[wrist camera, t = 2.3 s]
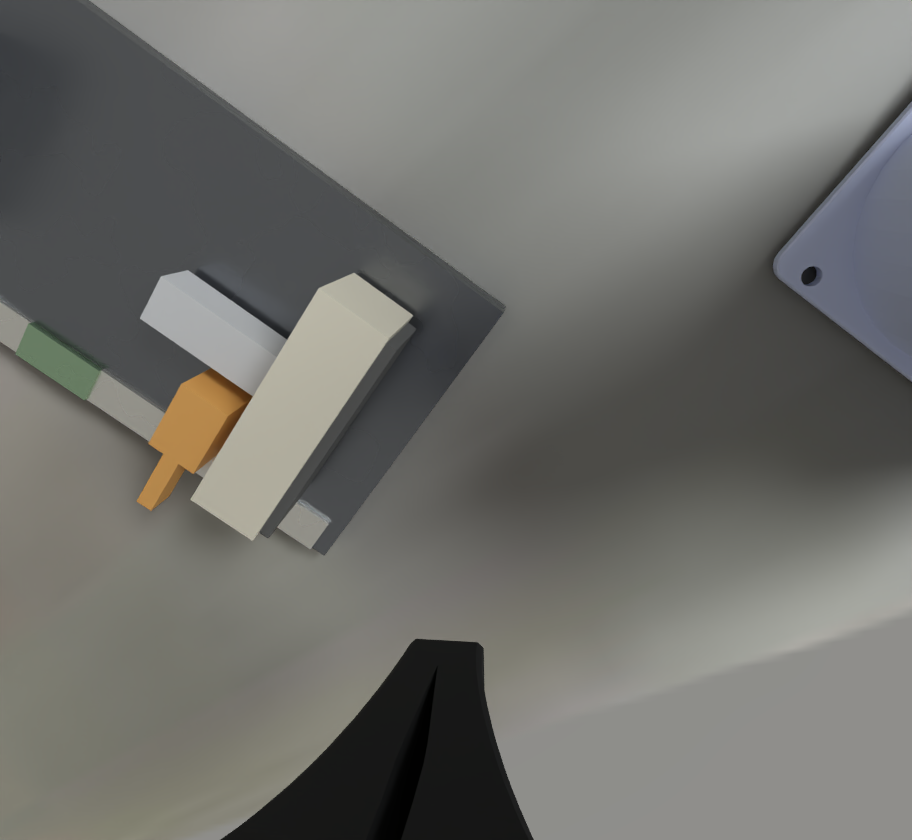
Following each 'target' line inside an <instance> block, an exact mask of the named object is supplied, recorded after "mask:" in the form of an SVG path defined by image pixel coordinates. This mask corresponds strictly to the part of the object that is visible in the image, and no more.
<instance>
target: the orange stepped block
mask: <svg viewBox="0 0 912 840" xmlns="http://www.w3.org/2000/svg"><path fill="white" fill-rule="evenodd" d="M252 397H253V396H252V395H250V394H249V393H247V392H246V391H244V390H243V389H241V388H240V387H239V386H237V385H236V384H234V383H233V382H231V381H230V380H228V379H227V378H225V377H224V376H223V375H221V374H220V373H218V372H217V371H215V370H214V369H212V368H210V369H208V370H206V371H205V372H203V373H201V374H199V375H197V376H195V377H193V378H192V379H190V380H188V381H186V382H184V383H182V384H181V385H180V387H179V389H178V391H177V393H176V394H175V396H174V398H173V400H172V402H171V403H170V405H169V407H168V409H167V411H166V412H165V414H164V416H163V418H162V420H161V422H160V423H159V425H158V427H157V429H156V431H155V432H154V434H153V436H152V438H151V440H150V441H149V443H148V444H149V445H151V446H152V447H154V448H155V449H157V450H158V451H160V452H161V453H163V455H162V457H161V459H160V461H159V462H158V464H157V466H156V468H155V469H154V471H153V473H152V475H151V477H150V478H149V480H148V482H147V484H146V485H145V487H144V489H143V491H142V492H141V494H140V496H139V498H138V499H137V502H138V503H140V504H141V505H143V506H144V507H146V508H147V509H149V510H150V511H152V510H153V509H154V508H155V507H156V506H158V505H159V504H160V503H161V502H163V501H164V500H165V499H166V498H168V497H169V496H170V494H171V492H172V491H173V489H174V487H175V486H176V484H177V482H178V481H179V479H180V477H181V475H182V474H183V472H184V470H185V469H187V470H188V471H190V472H191V473H193V474H194V473H195V472H196V471H198V470H199V469H200V468H201V467H203V466H204V465H205V464H206V463H208V462H209V461H210V460H211V459H213V458H214V457H215V456H216V455H218V453H219V452H220V450H221V448H222V447H223V445H224V443H225V442H226V440H227V438H228V437H229V435H230V433H231V432H232V430H233V429H234V427H235V425H236V424H237V422H238V420H239V419H240V417H241V415H242V414H243V412H244V410H245V409H246V407H247V405H248V404H249V402H250V401H251V399H252Z"/></svg>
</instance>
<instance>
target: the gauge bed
mask: <svg viewBox="0 0 912 840" xmlns="http://www.w3.org/2000/svg"><path fill="white" fill-rule="evenodd" d="M186 270H189V271H190V272H191V273H193V274H194V275H196V276H197V277H198V278H200V279H201V280H203V281H204V282H206V283H207V284H208V285H210V286H211V287H213V288H214V289H216V290H217V291H218V292H220V293H221V294H223V295H224V296H226V297H227V298H228V299H230V300H231V301H233V302H234V303H236V304H237V305H238V306H240V307H241V308H243V309H244V310H246V311H247V312H248V313H250V314H251V315H253V316H254V317H255V318H257V319H258V320H260V321H261V322H263V323H264V324H265V325H267V326H268V327H270V328H271V329H273V330H274V331H275V332H277V333H278V334H280V335H281V336H283V337H284V338H285V339H287V340H288V338H289V336H290V335H291V333H292V331H293V330H294V328H295V326H296V325H297V323H298V321H299V320H300V318H301V317H302V315H303V313H304V312H305V310H306V308H307V307H308V305H309V303H310V302H311V300H312V298H313V297H314V295H315V293H316V292H317V290H318V289H319V288H320V287H322V286H325V285H327V284H329V283H332V282H334V281H336V280H339V279H341V278H343V277H345V276H348V275H350V274H352V273H355V274H357V275H358V276H359V277H361V278H362V279H364V280H365V281H366V282H368V283H369V284H371V285H372V286H373V287H375V288H376V289H377V290H379V291H380V292H382V293H383V294H384V295H386V296H387V297H389V298H390V299H391V300H393V301H394V302H395V303H397V304H398V305H400V306H401V307H402V308H404V309H405V310H407V311H408V312H409V313H411V314H412V315H413V317H412V318H411V320H410V321H409V322H408V323H409V324H411V325H412V326H414V327H415V328H416V331H415V332H414V334H413V335H412V337H411V338H410V340H409V341H408V342H407V344H406V345H405V347H404V348H403V350H402V351H401V353H400V354H399V356H398V357H397V358H396V360H395V361H394V363H393V364H392V366H391V367H390V369H389V370H388V372H387V373H386V374H385V376H384V377H383V379H382V380H381V382H380V383H379V385H378V386H377V387H376V389H375V390H374V392H373V393H372V395H371V396H370V398H369V399H368V401H367V402H366V403H365V405H364V406H363V408H362V409H361V411H360V412H359V414H358V415H357V417H356V418H355V419H354V421H353V422H352V424H351V425H350V427H349V428H348V430H347V431H346V433H345V434H344V435H343V437H342V438H341V440H340V441H339V443H338V444H337V446H336V447H335V449H334V450H333V451H332V453H331V454H330V456H329V457H328V459H327V460H326V462H325V463H324V465H323V466H322V467H321V469H320V470H319V472H318V473H317V475H316V476H315V478H314V479H313V481H312V482H311V483H310V485H309V486H308V488H307V489H306V491H305V492H304V494H303V495H302V497H301V498H300V499H299V500H298V502H297V503H296V504H295V505H294V507H293V508H292V509H291V510H290V512H289V513H288V514H287V515H286V517H285V518H284V519H283V520H282V522H281V523H280V524H279V525H278V527H277V528H279V529H280V530H282V531H283V532H285V533H286V534H288V535H289V536H291V537H292V538H294V539H295V540H297V541H298V542H300V543H301V544H303V545H304V546H306V547H307V548H309V549H311V548H314V549H315V550H317V551H318V552H320V553H321V554H323V555H325V554H326V553H327V551H328V550H329V549H330V547H331V546H332V545H333V543H334V542H335V541H336V539H337V538H338V536H339V535H340V534H341V532H342V531H343V530H344V528H345V527H346V526H347V524H348V523H349V522H350V520H351V519H352V517H353V516H354V515H355V513H356V512H357V511H358V509H359V508H360V507H361V505H362V504H363V503H364V501H365V500H366V499H367V497H368V496H369V494H370V493H371V492H372V490H373V489H374V488H375V486H376V485H377V484H378V482H379V481H380V480H381V478H382V477H383V475H384V474H385V473H386V471H387V470H388V469H389V467H390V466H391V465H392V463H393V462H394V461H395V459H396V458H397V456H398V455H399V454H400V452H401V451H402V450H403V448H404V447H405V446H406V444H407V443H408V442H409V440H410V439H411V437H412V436H413V435H414V433H415V432H416V431H417V429H418V428H419V427H420V425H421V424H422V423H423V421H424V420H425V418H426V417H427V416H428V414H429V413H430V412H431V410H432V409H433V408H434V406H435V405H436V404H437V402H438V401H439V399H440V398H441V397H442V395H443V394H444V393H445V391H446V390H447V389H448V387H449V386H450V385H451V383H452V382H453V380H454V379H455V378H456V376H457V375H458V374H459V372H460V371H461V370H462V368H463V367H464V366H465V364H466V363H467V362H468V360H469V359H470V357H471V356H472V355H473V353H474V352H475V351H476V349H477V348H478V347H479V345H480V344H481V343H482V341H483V340H484V338H485V337H486V336H487V334H488V333H489V332H490V330H491V329H492V328H493V326H494V325H495V324H496V322H497V321H498V319H499V318H500V317H501V315H502V314H503V313H504V310H505V307H506V306H504V305H503V304H502V303H500V302H499V301H498V300H496V299H495V298H493V297H492V296H491V295H489V294H488V293H487V292H485V291H484V290H483V289H481V288H480V287H478V286H477V285H476V284H474V283H473V282H472V281H470V280H469V279H468V278H466V277H465V276H463V275H462V274H461V273H459V272H458V271H457V270H455V269H454V268H453V267H451V266H450V265H448V264H447V263H446V262H444V261H443V260H442V259H440V258H439V257H438V256H436V255H435V254H433V253H432V252H431V251H429V250H428V249H427V248H425V247H424V246H423V245H421V244H420V243H418V242H417V241H416V240H414V239H413V238H412V237H410V236H409V235H408V234H406V233H405V232H403V231H402V230H401V229H399V228H398V227H397V226H395V225H394V224H393V223H391V222H390V221H389V220H387V219H386V218H384V217H383V216H382V215H380V214H379V213H378V212H376V211H375V210H374V209H372V208H371V207H369V206H368V205H367V204H365V203H364V202H363V201H361V200H360V199H359V198H357V197H356V196H354V195H353V194H352V193H350V192H349V191H348V190H346V189H345V188H344V187H342V186H341V185H339V184H338V183H337V182H335V181H334V180H333V179H331V178H330V177H329V176H327V175H326V174H324V173H323V172H322V171H320V170H319V169H318V168H316V167H315V166H314V165H312V164H311V163H309V162H308V161H307V160H305V159H304V158H303V157H301V156H300V155H299V154H297V153H296V152H294V151H293V150H292V149H290V148H289V147H288V146H286V145H285V144H284V143H282V142H281V141H279V140H278V139H277V138H275V137H274V136H273V135H271V134H270V133H269V132H267V131H266V130H265V129H263V128H262V127H260V126H259V125H258V124H256V123H255V122H254V121H252V120H251V119H250V118H248V117H247V116H245V115H244V114H243V113H241V112H240V111H239V110H237V109H236V108H235V107H233V106H232V105H230V104H229V103H228V102H226V101H225V100H224V99H222V98H221V97H220V96H218V95H217V94H215V93H214V92H213V91H211V90H210V89H209V88H207V87H206V86H205V85H203V84H202V83H200V82H199V81H198V80H196V79H195V78H194V77H192V76H191V75H190V74H188V73H187V72H185V71H184V70H183V69H181V68H180V67H179V66H177V65H176V64H175V63H173V62H172V61H170V60H169V59H168V58H166V57H165V56H164V55H162V54H161V53H160V52H158V51H157V50H155V49H154V48H153V47H151V46H150V45H149V44H147V43H146V42H145V41H143V40H142V39H141V38H139V37H138V36H136V35H135V34H134V33H132V32H131V31H130V30H128V29H127V28H126V27H124V26H123V25H121V24H120V23H119V22H117V21H116V20H115V19H113V18H112V17H111V16H109V15H108V14H106V13H105V12H104V11H102V10H101V9H100V8H98V7H97V6H96V5H94V4H93V3H91V2H90V1H89V0H0V342H1V343H3V344H4V345H6V346H7V347H9V348H10V349H12V350H13V351H15V352H16V353H15V354H16V355H17V356H19V357H20V358H22V359H23V360H25V361H26V362H28V363H29V364H31V365H32V366H34V367H35V368H37V369H38V370H40V371H41V372H43V373H44V374H46V375H47V376H49V377H50V378H52V379H53V380H55V381H56V382H57V383H59V384H60V385H62V386H63V387H65V388H66V389H68V390H69V391H71V392H72V393H74V394H75V395H77V396H78V397H80V398H81V399H83V400H84V401H85V400H88V401H89V402H91V403H92V404H94V405H95V406H97V407H98V408H100V409H101V410H103V411H104V412H106V413H107V414H109V415H110V416H112V417H113V418H115V419H116V420H118V421H119V422H121V423H122V424H124V425H125V426H127V427H128V428H130V429H131V430H133V431H134V432H136V433H137V434H139V435H140V436H142V437H143V438H145V439H146V440H148V441H150V440H151V438H152V436H153V434H154V432H155V431H156V429H157V427H158V425H159V423H160V422H161V420H162V418H163V416H164V414H165V412H166V411H167V409H168V407H169V405H170V403H171V402H172V400H173V398H174V396H175V394H176V393H177V391H178V389H179V387H180V385H181V384H182V383H184V382H186V381H188V380H190V379H192V378H193V377H195V376H197V375H199V374H201V373H203V372H205V371H206V370H208V369H210V368H211V367H210V366H208V365H207V364H205V363H204V362H202V361H201V360H199V359H198V358H196V357H195V356H194V355H192V354H191V353H189V352H188V351H186V350H185V349H183V348H182V347H180V346H179V345H178V344H176V343H175V342H173V341H172V340H170V339H169V338H167V337H166V336H165V335H163V334H162V333H160V332H159V331H157V330H156V329H154V328H153V327H151V326H150V325H149V324H147V323H146V322H144V321H143V320H141V319H140V317H141V315H142V313H143V311H144V309H145V307H146V305H147V303H148V301H149V299H150V297H151V295H152V293H153V291H154V289H155V287H156V285H157V283H158V281H159V279H160V277H161V276H164V275H169V274H173V273H178V272H182V271H186ZM216 457H217V455H216V456H215V457H214V458H213V459H211V460H210V461H209V462H208V463H206V464H205V465H204V466H203V467H201V468H200V469H199V470H198V471H196V472H195V473H197V474H198V475H200V476H201V477H203V478H204V476H205V475H206V473H207V471H208V470H209V468H210V466H211V465H212V463H213V461H214V460H215V458H216Z"/></svg>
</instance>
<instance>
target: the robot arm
mask: <svg viewBox="0 0 912 840" xmlns="http://www.w3.org/2000/svg"><path fill="white" fill-rule="evenodd" d="M812 266H814V267H815V269H816V270H817V276H816V278H815V279H814V281H813V282H811V283H810V284H805V285H804V284H803V283H802V281H801V275H802V273H803V271H804V270H805V269H807V268H808V267H812ZM773 270H774V274H775V275H776V276H777V277H778V279H779V280H781V281H782V282H783V283H785V284H786V285H787V286H788V287H790V288H791V289H792V290H794V291H795V292H796V293H797V294H799V295H800V296H801V297H803V298H804V299H805V300H807V301H808V302H809V303H810V304H812V305H813V306H814V307H816V308H817V309H818V310H819V311H821V312H822V313H823V314H825V315H826V316H827V317H828V318H830V319H831V320H832V321H834V322H835V323H836V324H838V325H839V326H840V327H841V328H843V329H844V330H845V331H847V332H848V333H849V334H850V335H852V336H853V337H854V338H856V339H857V340H858V341H859V342H861V343H862V344H863V345H865V346H866V347H867V348H868V349H870V350H871V351H872V352H874V353H875V354H876V355H878V356H879V357H880V358H881V359H883V360H884V361H885V362H887V363H888V364H889V365H890V366H892V367H893V368H894V369H896V370H897V371H898V372H899V373H901V374H902V375H903V376H905V377H906V378H907V379H909V380H910V381H911V382H912V101H911V103H910V104H909V105H908V106H907V107H906V108H905V109H904V111H903V112H902V113H901V114H900V115H899V116H898V117H897V118H896V120H895V121H894V122H893V123H892V124H891V125H890V126H889V128H888V129H887V130H886V131H885V132H884V133H883V134H882V135H881V137H880V138H879V139H878V140H877V141H876V142H875V143H874V145H873V146H872V147H871V148H870V149H869V150H868V151H867V152H866V154H865V155H864V156H863V157H862V158H861V159H860V160H859V162H858V163H857V164H856V165H855V166H854V167H853V168H852V170H851V171H850V172H849V173H848V174H847V175H846V176H845V177H844V179H843V180H842V181H841V182H840V183H839V184H838V185H837V187H836V188H835V189H834V190H833V191H832V192H831V193H830V194H829V196H828V197H827V198H826V199H825V200H824V201H823V202H822V204H821V205H820V206H819V207H818V208H817V209H816V210H815V211H814V213H813V214H812V215H811V216H810V217H809V218H808V219H807V221H806V222H805V223H804V224H803V225H802V226H801V227H800V228H799V230H798V231H797V232H796V233H795V234H794V235H793V236H792V238H791V239H790V240H789V241H788V242H787V243H786V244H785V245H784V247H783V248H782V249H781V250H780V251H779V252H778V254H777V255H776V257H775V259H774V263H773ZM221 840H534V839H533V837H532V835H531V833H530V831H529V828H528V826H527V824H526V822H525V819H524V817H523V815H522V812H521V810H520V808H519V805H518V803H517V800H516V798H515V795H514V793H513V790H512V788H511V785H510V782H509V780H508V777H507V774H506V771H505V768H504V765H503V762H502V759H501V756H500V752H499V749H498V746H497V743H496V739H495V736H494V732H493V728H492V724H491V720H490V716H489V711H488V707H487V702H486V697H485V691H484V650H483V647H482V646H481V645H480V644H479V643H478V642H461V641H444V640H426V639H415V640H414V641H413V642H412V643H411V644H410V645H409V647H408V648H407V650H406V651H405V653H404V654H403V656H402V657H401V659H400V660H399V662H398V663H397V664H396V666H395V667H394V669H393V670H392V671H391V673H390V674H389V675H388V677H387V678H386V679H385V681H384V682H383V683H382V685H381V686H380V687H379V689H378V690H377V691H376V692H375V694H374V695H373V696H372V697H371V699H370V700H369V701H368V702H367V704H366V705H365V706H364V707H363V709H362V710H361V711H360V712H359V713H358V715H357V716H356V717H355V718H354V719H353V720H352V721H351V723H350V724H349V725H348V726H347V727H346V728H345V729H344V730H343V731H342V733H341V734H340V735H339V736H338V737H337V738H336V739H335V740H334V741H333V743H332V744H331V745H330V746H329V747H328V748H327V749H326V750H325V751H324V752H323V753H322V754H321V755H320V756H319V757H318V758H317V759H316V760H315V761H314V762H313V763H312V764H311V765H310V766H309V767H308V768H307V769H306V770H305V771H304V772H303V773H302V774H301V775H300V776H298V777H297V778H296V779H295V780H294V781H293V782H292V783H291V784H290V785H289V786H288V787H286V788H285V789H284V790H283V791H282V792H281V793H279V794H278V795H277V796H276V797H275V798H274V799H272V800H271V801H270V802H269V803H268V804H266V805H265V806H264V807H263V808H262V809H261V810H259V811H258V812H257V813H256V814H254V815H253V816H252V817H251V818H249V819H248V820H247V821H246V822H244V823H243V824H242V825H240V826H239V827H238V828H236V829H235V830H234V831H232V832H231V833H229V834H228V835H227V836H225V837H224V838H222V839H221Z"/></svg>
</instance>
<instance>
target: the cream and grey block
mask: <svg viewBox="0 0 912 840" xmlns="http://www.w3.org/2000/svg"><path fill="white" fill-rule="evenodd" d="M412 317H413V315H412V314H411V313H409V312H408V311H407V310H405V309H404V308H402V307H401V306H400V305H398V304H397V303H395V302H394V301H393V300H391V299H390V298H389V297H387V296H386V295H384V294H383V293H382V292H380V291H379V290H377V289H376V288H375V287H373V286H372V285H371V284H369V283H368V282H366V281H365V280H364V279H362V278H361V277H359V276H358V275H357V274H355V273H352V274H350V275H348V276H345V277H343V278H341V279H339V280H336V281H334V282H332V283H329V284H327V285H325V286H322V287H320V288H319V289H318V290H317V292H316V293H315V295H314V297H313V298H312V300H311V302H310V303H309V305H308V307H307V308H306V310H305V312H304V313H303V315H302V317H301V318H300V320H299V321H298V323H297V325H296V326H295V328H294V330H293V331H292V333H291V335H290V336H289V338H288V340H287V339H285V338H284V337H283V336H281V335H280V334H278V333H277V332H275V331H274V330H273V329H271V328H270V327H268V326H267V325H265V324H264V323H263V322H261V321H260V320H258V319H257V318H255V317H254V316H253V315H251V314H250V313H248V312H247V311H246V310H244V309H243V308H241V307H240V306H238V305H237V304H236V303H234V302H233V301H231V300H230V299H228V298H227V297H226V296H224V295H223V294H221V293H220V292H218V291H217V290H216V289H214V288H213V287H211V286H210V285H208V284H207V283H206V282H204V281H203V280H201V279H200V278H198V277H197V276H196V275H194V274H193V273H191V272H190V271H189V270H186V271H182V272H178V273H173V274H169V275H164V276H161V277H160V279H159V281H158V283H157V285H156V287H155V289H154V291H153V293H152V295H151V297H150V299H149V301H148V303H147V305H146V307H145V309H144V311H143V313H142V315H141V317H140V319H141V320H143V321H144V322H146V323H147V324H149V325H150V326H151V327H153V328H154V329H156V330H157V331H159V332H160V333H162V334H163V335H165V336H166V337H167V338H169V339H170V340H172V341H173V342H175V343H176V344H178V345H179V346H180V347H182V348H183V349H185V350H186V351H188V352H189V353H191V354H192V355H194V356H195V357H196V358H198V359H199V360H201V361H202V362H204V363H205V364H207V365H208V366H210V367H211V368H212V369H214V370H215V371H217V372H218V373H220V374H221V375H223V376H224V377H225V378H227V379H228V380H230V381H231V382H233V383H234V384H236V385H237V386H239V387H240V388H241V389H243V390H244V391H246V392H247V393H249V394H250V395H252V396H253V397H252V399H251V401H250V402H249V404H248V405H247V407H246V409H245V410H244V412H243V414H242V415H241V417H240V419H239V420H238V422H237V424H236V425H235V427H234V429H233V430H232V432H231V433H230V435H229V437H228V438H227V440H226V442H225V443H224V445H223V447H222V448H221V450H220V452H219V453H218V455H217V457H216V458H215V460H214V461H213V463H212V465H211V466H210V468H209V470H208V471H207V473H206V475H205V476H204V478H203V480H202V481H201V483H200V485H199V486H198V488H197V489H196V491H195V493H194V494H193V496H192V498H191V499H190V500H192V501H193V502H195V503H196V504H198V505H199V506H201V507H202V508H204V509H205V510H207V511H208V512H210V513H211V514H213V515H214V516H216V517H217V518H219V519H220V520H222V521H223V522H225V523H226V524H228V525H229V526H231V527H232V528H234V529H235V530H237V531H238V532H240V533H241V534H243V535H244V536H246V537H247V538H249V539H250V540H252V541H253V540H254V539H255V537H256V536H257V535H258V534H259V533H261V534H262V535H264V536H265V537H267V538H269V537H270V535H271V534H272V533H273V532H274V530H275V529H276V528H277V527H278V525H279V524H280V523H281V522H282V520H283V519H284V518H285V517H286V515H287V514H288V513H289V512H290V510H291V509H292V508H293V507H294V505H295V504H296V503H297V502H298V500H299V499H300V498H301V497H302V495H303V494H304V492H305V491H306V489H307V488H308V486H309V485H310V483H311V482H312V481H313V479H314V478H315V476H316V475H317V473H318V472H319V470H320V469H321V467H322V466H323V465H324V463H325V462H326V460H327V459H328V457H329V456H330V454H331V453H332V451H333V450H334V449H335V447H336V446H337V444H338V443H339V441H340V440H341V438H342V437H343V435H344V434H345V433H346V431H347V430H348V428H349V427H350V425H351V424H352V422H353V421H354V419H355V418H356V417H357V415H358V414H359V412H360V411H361V409H362V408H363V406H364V405H365V403H366V402H367V401H368V399H369V398H370V396H371V395H372V393H373V392H374V390H375V389H376V387H377V386H378V385H379V383H380V382H381V380H382V379H383V377H384V376H385V374H386V373H387V372H388V370H389V369H390V367H391V366H392V364H393V363H394V361H395V360H396V358H397V357H398V356H399V354H400V353H401V351H402V350H403V348H404V347H405V345H406V344H407V342H408V341H409V340H410V338H411V337H412V335H413V334H414V332H415V331H416V328H415V327H414V326H412V325H411V324H409V323H408V322H409V321H410V320H411V318H412Z"/></svg>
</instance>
